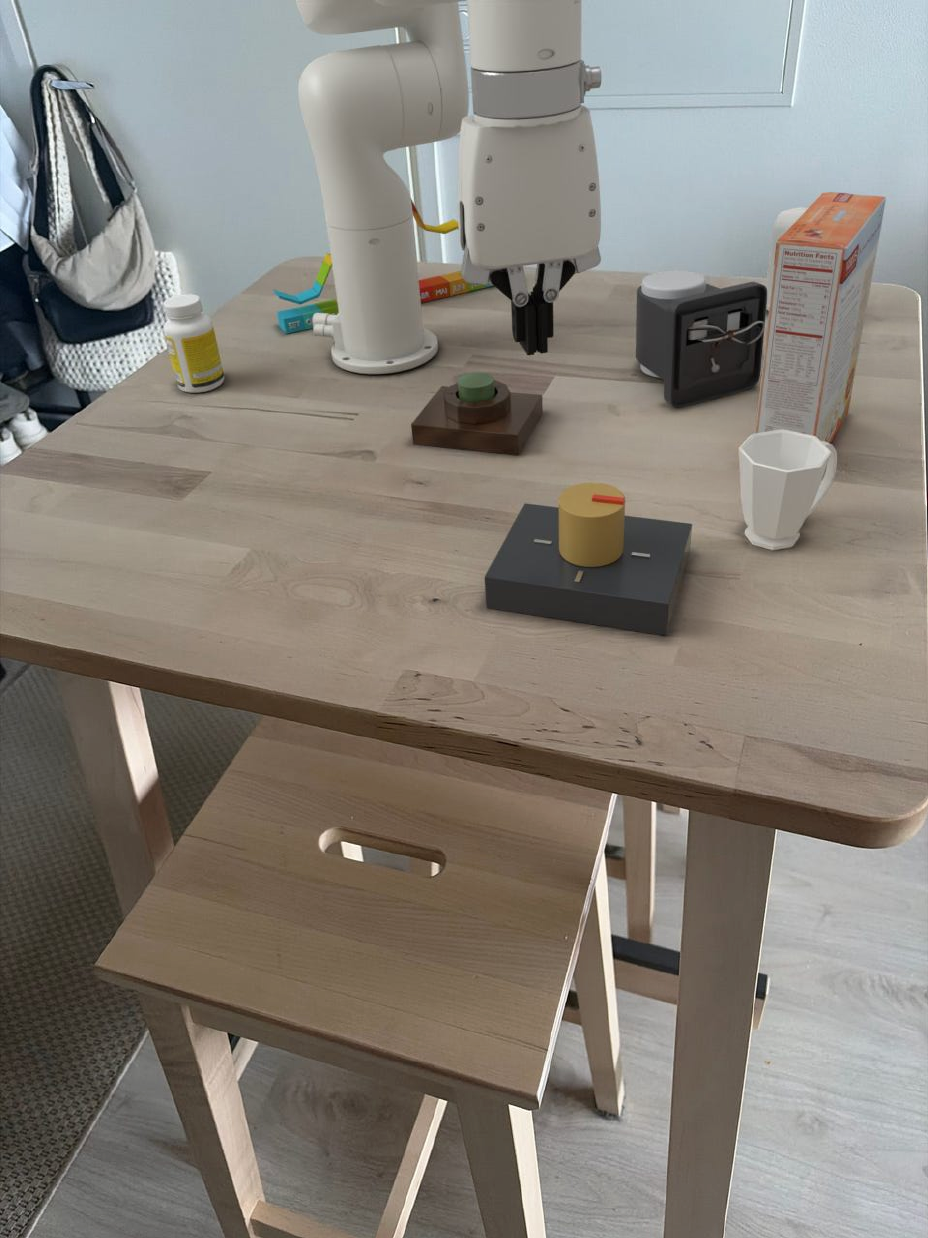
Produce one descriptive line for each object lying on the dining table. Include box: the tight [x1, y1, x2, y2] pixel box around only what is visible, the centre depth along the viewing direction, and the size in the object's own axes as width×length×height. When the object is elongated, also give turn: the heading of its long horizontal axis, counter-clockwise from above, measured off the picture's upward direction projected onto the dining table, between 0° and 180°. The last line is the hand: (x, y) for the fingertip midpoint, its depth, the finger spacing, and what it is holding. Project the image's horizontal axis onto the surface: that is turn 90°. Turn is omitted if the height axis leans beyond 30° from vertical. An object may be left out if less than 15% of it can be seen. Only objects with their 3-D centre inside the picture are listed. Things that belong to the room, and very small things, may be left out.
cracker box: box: [754, 191, 887, 444], centre depth 89 cm, size 14×6×21 cm, turn 150°
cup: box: [738, 429, 838, 551], centre depth 81 cm, size 7×10×8 cm
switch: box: [457, 371, 495, 402], centre depth 99 cm, size 4×4×2 cm
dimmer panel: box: [484, 503, 693, 636], centre depth 79 cm, size 14×11×3 cm
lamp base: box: [410, 379, 544, 456], centre depth 100 cm, size 11×9×4 cm
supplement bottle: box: [162, 293, 225, 394], centre depth 112 cm, size 5×5×10 cm
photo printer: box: [764, 206, 810, 312], centre depth 115 cm, size 10×4×12 cm, turn 32°
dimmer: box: [558, 482, 626, 567], centre depth 76 cm, size 5×5×5 cm
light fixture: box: [635, 269, 767, 409], centre depth 105 cm, size 11×13×11 cm
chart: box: [272, 198, 492, 335], centre depth 126 cm, size 30×3×15 cm, turn 115°
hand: (533, 347), depth 80 cm, fingers closed
